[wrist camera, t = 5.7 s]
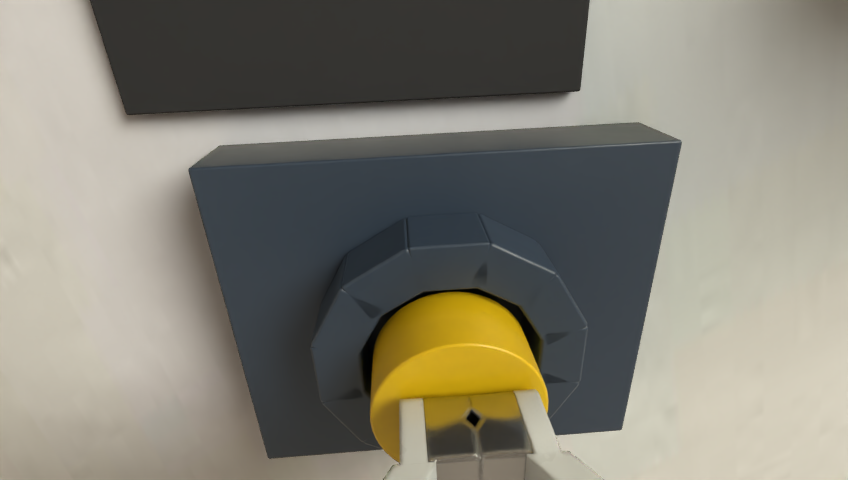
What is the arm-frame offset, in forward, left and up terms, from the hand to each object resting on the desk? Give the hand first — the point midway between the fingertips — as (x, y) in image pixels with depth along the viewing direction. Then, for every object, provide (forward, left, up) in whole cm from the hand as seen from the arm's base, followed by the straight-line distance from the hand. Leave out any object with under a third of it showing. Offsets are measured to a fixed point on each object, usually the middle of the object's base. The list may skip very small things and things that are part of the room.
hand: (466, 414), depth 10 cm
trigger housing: (0, 0, -6) cm, 6 cm away
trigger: (0, 0, -2) cm, 2 cm away
